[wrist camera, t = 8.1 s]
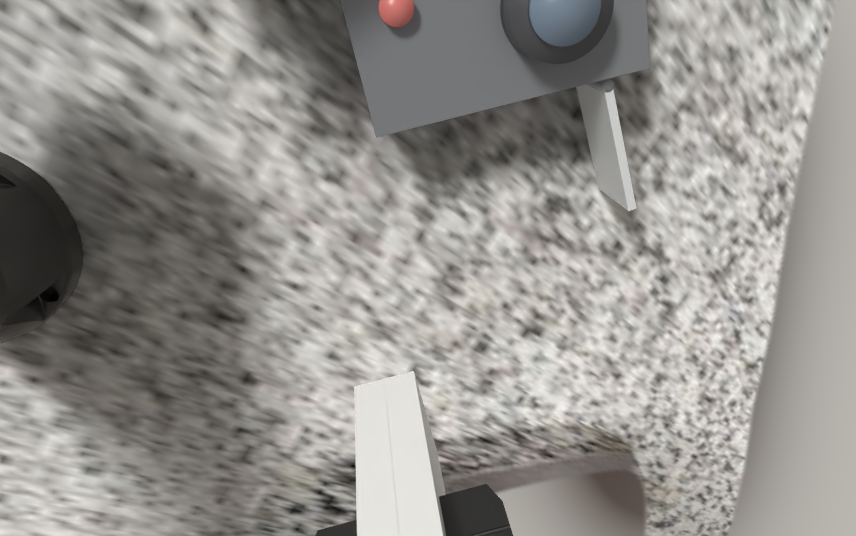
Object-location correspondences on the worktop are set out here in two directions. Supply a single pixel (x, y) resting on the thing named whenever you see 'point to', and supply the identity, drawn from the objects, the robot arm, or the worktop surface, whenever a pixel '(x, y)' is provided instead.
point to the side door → (606, 141)
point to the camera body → (486, 52)
